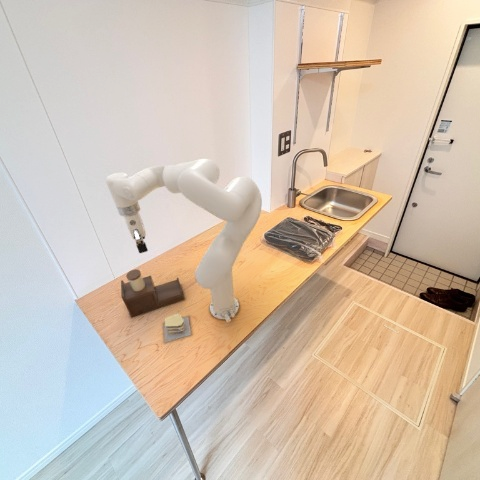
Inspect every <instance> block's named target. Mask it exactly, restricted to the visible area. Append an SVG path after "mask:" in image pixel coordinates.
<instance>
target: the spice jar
mask: <svg viewBox="0 0 480 480" xmlns="http://www.w3.org/2000/svg"><path fill="white" fill-rule="evenodd" d="M125 277H126V279H127V281H128V282H129V283H130V285H131V287H132V289H133V291H140V290H142V289H143V288H144V287H145V283H144V281H143V278H144V277H143V276H142V272H141V270H140V269H132V270H130V271H128V272H127V273H126V276H125Z"/></svg>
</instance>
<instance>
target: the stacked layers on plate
mask: <svg viewBox="0 0 480 480" xmlns="http://www.w3.org/2000/svg"><path fill="white" fill-rule="evenodd" d="M163 325H164V343H167V342H172V341H175V340H178V339H181V338H185V337H188V336H192V332H191V326H190V325H191V324H190V319H189V316H186V317H183V316H182V315H181V313H175V314H173V315H170V316H167V317H165V318H164V322H163Z"/></svg>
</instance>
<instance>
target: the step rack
mask: <svg viewBox="0 0 480 480" xmlns="http://www.w3.org/2000/svg"><path fill="white" fill-rule="evenodd" d="M142 278H143V281H144V283H145V287H144V288H143V289H142V290H140V291H133V289H132V287H131V285H130V283H129V281H128V282H125V281H124V279H121V280H120V296H121V299H122V301H123V303H124V305H125V307H126V309H127V311H128V313H129V315H130V318H134V317H138V316H140V315H143V314H145V313H149V312H151V311H155V310H158V309H162V308H164V307H166V306H170V305H172V304H175V303H178V302H181V301H185V295H184V293H183V288H182V286H181V282H180V279H179V277H176V279H175V280H171V281H168V282H164V283H162V284H159V285H155V283H154V280H153V277H152V275H148V276H144V277H142Z"/></svg>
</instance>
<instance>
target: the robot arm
mask: <svg viewBox="0 0 480 480" xmlns="http://www.w3.org/2000/svg"><path fill="white" fill-rule="evenodd" d="M219 179H220V169H219V166H218V164H217V163H216V161H214V160H213V159H210V158H199V159H195V160H189V161H185V162H180V163H176V164H171V165H169V164H159V165H155V166H154V165H153V166H150V167H146V168H144V169H142V170H140V171H138V172H136V173H134V174H132V175H131V176H130V175H129V174H128V173H126V172H115V173H111V174H110V175H108V176H106V179H105V183H106V186H107V188H108V191H109V193H110V195H111V198H112V200H113V203H114V206H115V207H116V210H117V213H118V215H119V216H121V217H123V219H124V221H125V224H126V227H127V229H128V231H129V234H130V236H131V238H132V239H133V240H134V241H135V245H136V248H137V250H138V254H143V253H146V252H148V251H149V249H148V247H147V244H146V242H145V241H144V240H145V239H146V236H147V233H146V228H145V225H144V222H143V219H142V217H141V214H140V211H141V207H140V203H139V201H141V200H142V199H144V198H145V197H146V196H148V195H149V194H150V193H152V192H153V191H155V190H157V189H159V188H164V187H165V188H166V190H167V191H168V192H170V193H172V194H181V195H182V196H183V197H185V198H186V199H187V200H188V201H190V202H191V203H192V204H194V205H196V206H198V207H200V208H201V209H202V210H204V211H206V212H207V213H209V214H211V215H212V216H214V217H215V218H217V219H219V220H222V221H225V224H224V226H223V228H222V229H221V230H220V232H219V233H218V234H217V235H216V236H215V238H214V239H213V240H212V242H211V243H210V245H209V246H208V248H207V249H206V251H205V253H204V255H203V256H202V258H201V260H200V262H199V264H198V265H197V267H196V269H195V271H194V279H195V282H196V283H197V285H198V286H200V287H201V288H203V289H206V290H209V291H210V292H209V293H210V297H211V301H210V304H209V312H210V314H211V316H213V317H214V318H215V319H219V320H225V322H226V323H230V322H232V319H231V318H235V317H236V315H237V313H238V312H239V309H240V304H239V300H238V299H237V298H236V297H235V289H234V279H233V267H234V264H235V263H236V261H237V260H238V256H239V255H240V253H241V251H242V248H243V246H244V244H245V242H246V241H247V239H248V238H249V237H250V235H251V233H252V231H253V230H254V228H255V227H256V225H257V223H258V220H259V218H260V216H261V212H262V205H263V203H262V194H261V190H260V188H259V187H258V185H257V183H256V182H255V181H254V180H253V179H252V178H250V177H249V176H244V175H243V176H238V177H235V178H233V179H232V180H231V181H229V183H227V185H226V186H225V187H224V188H223V187H221V186H218V185H217V183H218V181H219Z"/></svg>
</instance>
